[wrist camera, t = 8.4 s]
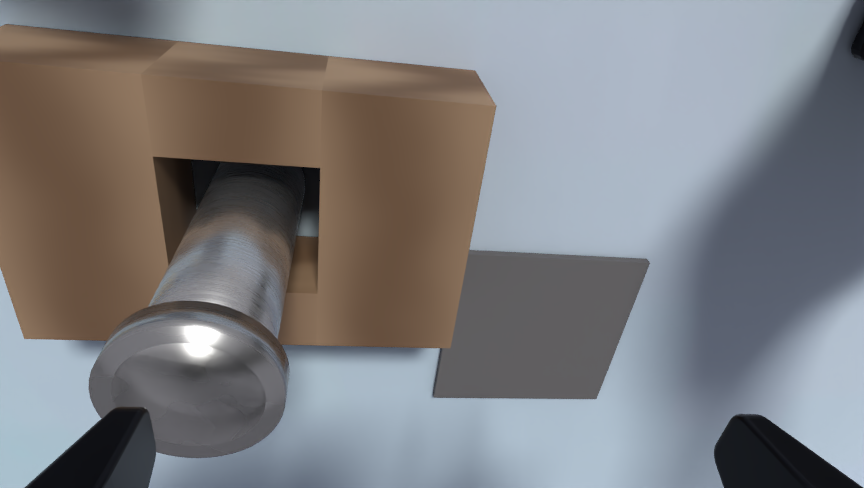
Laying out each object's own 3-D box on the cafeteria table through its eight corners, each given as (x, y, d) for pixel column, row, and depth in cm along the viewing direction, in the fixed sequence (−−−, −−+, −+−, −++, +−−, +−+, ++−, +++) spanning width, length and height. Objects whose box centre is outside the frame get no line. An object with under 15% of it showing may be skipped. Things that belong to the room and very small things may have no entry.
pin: (317, 135, 19) (284, 329, 11) (316, 230, 21) (286, 457, 13) (200, 126, 19) (70, 324, 10) (209, 225, 21) (106, 458, 12)
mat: (646, 259, 24) (649, 262, 23) (594, 394, 28) (596, 398, 28) (458, 249, 22) (459, 253, 22) (433, 392, 27) (433, 397, 26)
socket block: (475, 70, 19) (496, 106, 16) (439, 289, 23) (450, 348, 20) (6, 24, 17) (-71, 55, 14) (71, 275, 21) (24, 338, 18)
